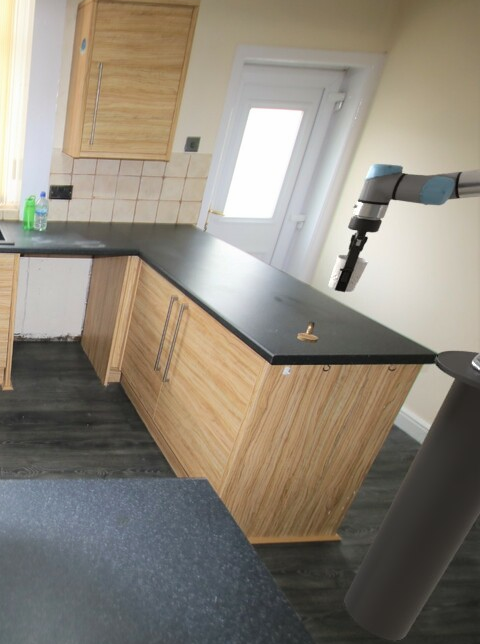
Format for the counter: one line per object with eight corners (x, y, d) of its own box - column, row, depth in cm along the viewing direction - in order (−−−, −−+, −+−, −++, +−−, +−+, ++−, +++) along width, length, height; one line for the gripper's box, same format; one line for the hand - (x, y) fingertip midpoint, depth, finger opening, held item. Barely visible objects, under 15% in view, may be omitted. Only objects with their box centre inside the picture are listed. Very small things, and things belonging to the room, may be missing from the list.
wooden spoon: (302, 323, 172) (303, 319, 171) (320, 327, 169) (322, 323, 168) (296, 339, 158) (297, 335, 157) (316, 344, 154) (318, 340, 154)
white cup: (349, 285, 156) (361, 256, 152) (360, 294, 149) (373, 264, 145) (322, 282, 158) (333, 253, 153) (331, 290, 151) (343, 261, 146)
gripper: (353, 211, 154) (328, 278, 163) (350, 220, 139) (324, 292, 148) (382, 215, 149) (355, 283, 159) (383, 224, 134) (353, 298, 144)
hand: (340, 287), depth 153 cm, fingers closed on white cup, 8 cm apart
